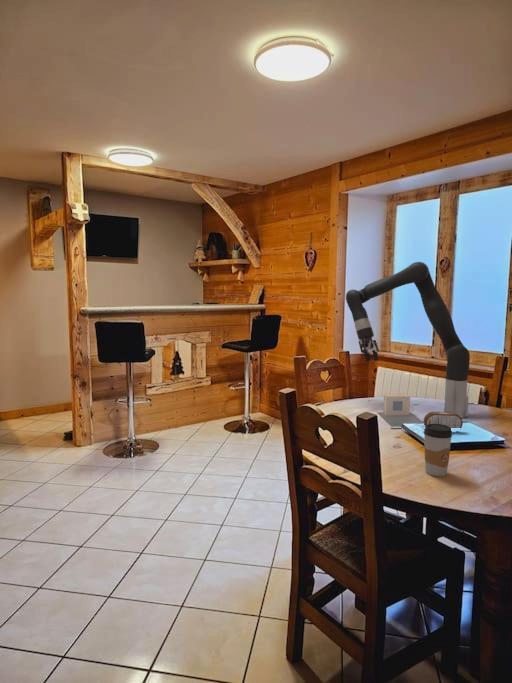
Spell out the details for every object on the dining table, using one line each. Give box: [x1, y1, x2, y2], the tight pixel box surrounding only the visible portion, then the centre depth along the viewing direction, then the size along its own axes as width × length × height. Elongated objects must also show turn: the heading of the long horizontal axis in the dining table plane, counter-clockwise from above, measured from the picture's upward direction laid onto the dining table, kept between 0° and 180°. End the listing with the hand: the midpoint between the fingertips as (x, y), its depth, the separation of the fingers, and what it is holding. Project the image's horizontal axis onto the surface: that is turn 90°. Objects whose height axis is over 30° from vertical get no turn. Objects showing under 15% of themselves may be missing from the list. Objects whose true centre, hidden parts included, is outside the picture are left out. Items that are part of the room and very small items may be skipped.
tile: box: [383, 394, 411, 416], centre depth 203 cm, size 11×3×9 cm, turn 91°
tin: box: [423, 411, 464, 429], centre depth 182 cm, size 15×3×8 cm, turn 84°
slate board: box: [376, 411, 424, 430], centre depth 197 cm, size 16×22×1 cm
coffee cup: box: [423, 424, 453, 477], centre depth 140 cm, size 8×8×15 cm
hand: (373, 360), depth 213 cm, fingers open, 8 cm apart
